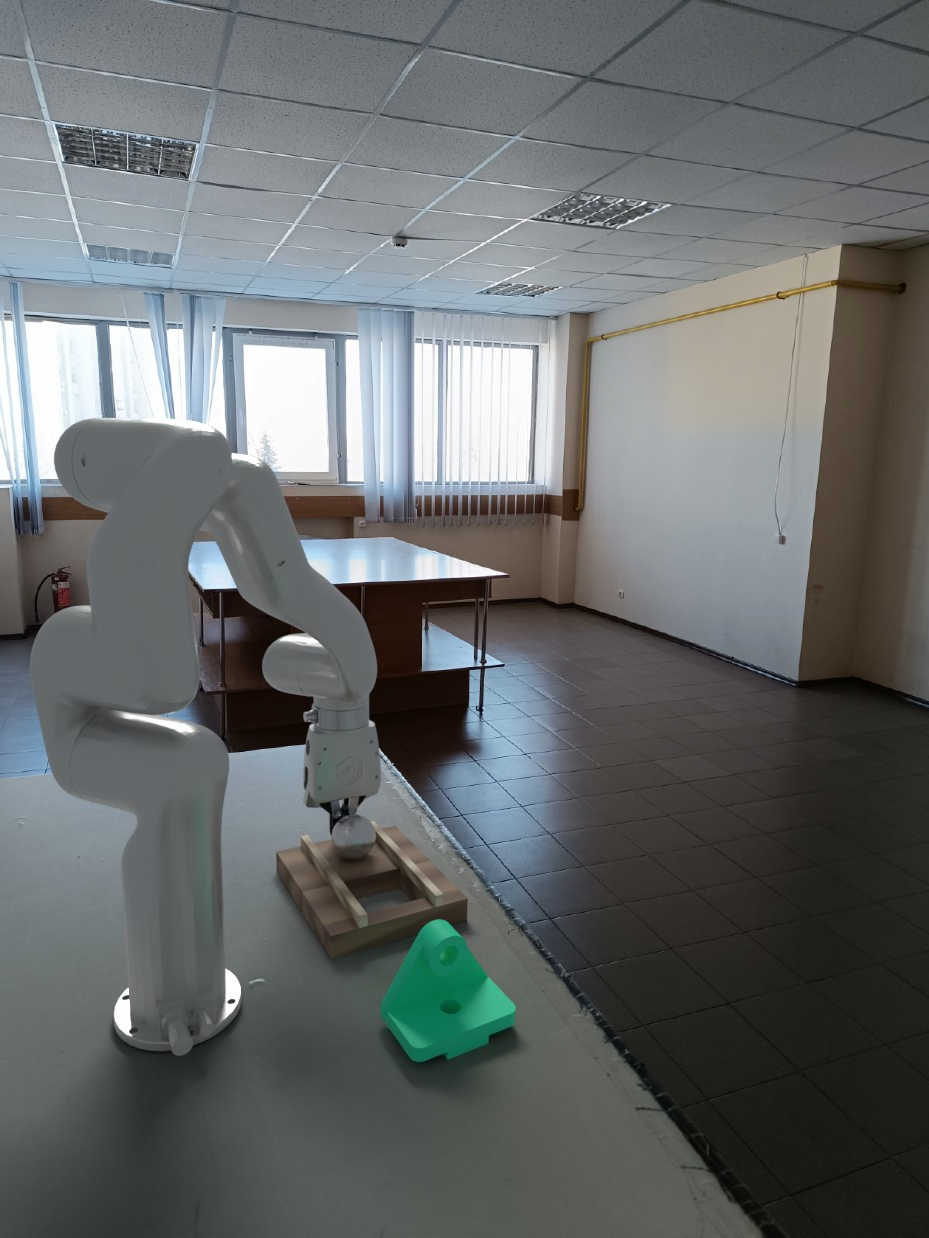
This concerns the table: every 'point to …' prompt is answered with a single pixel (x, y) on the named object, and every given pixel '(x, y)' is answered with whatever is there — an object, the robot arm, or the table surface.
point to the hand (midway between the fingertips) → (341, 838)
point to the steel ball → (353, 837)
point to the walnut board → (367, 891)
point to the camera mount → (443, 998)
